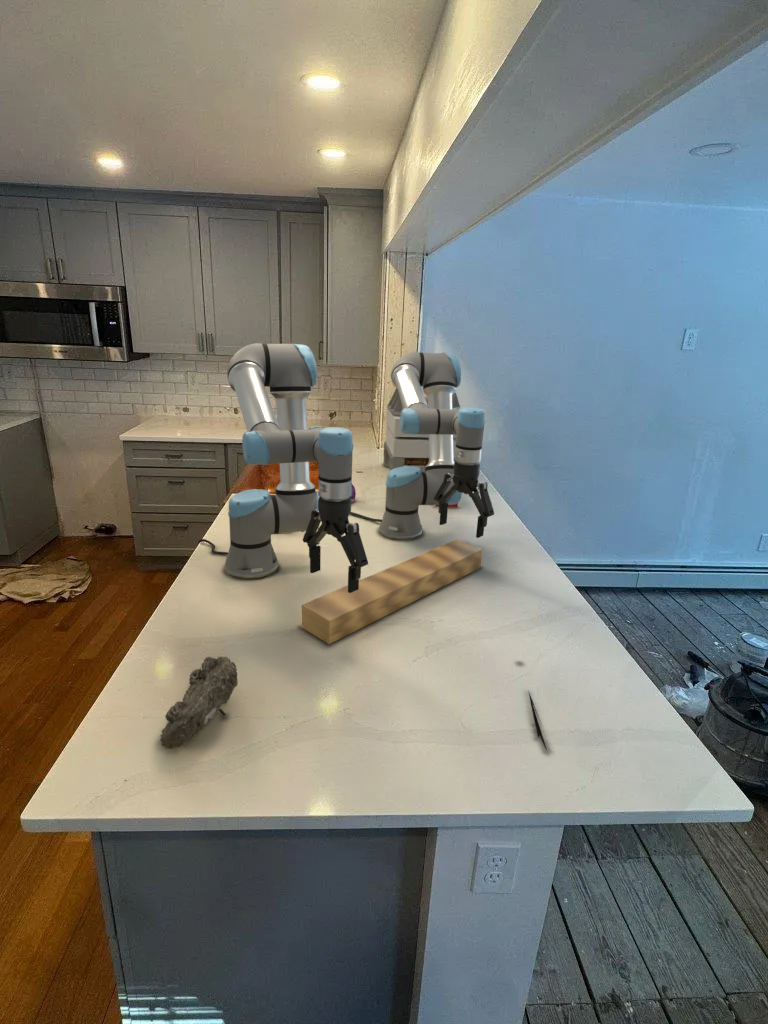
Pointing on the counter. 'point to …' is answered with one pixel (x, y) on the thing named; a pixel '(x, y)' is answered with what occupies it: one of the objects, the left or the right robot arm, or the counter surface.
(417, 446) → the transformer
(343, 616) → the thick board
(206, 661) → the fossil
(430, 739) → the counter surface
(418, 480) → the right robot arm
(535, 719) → the feather
